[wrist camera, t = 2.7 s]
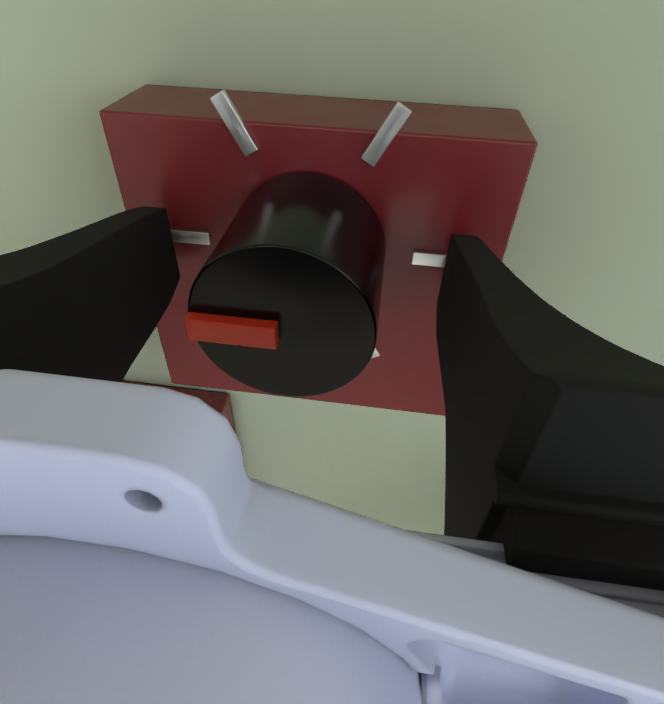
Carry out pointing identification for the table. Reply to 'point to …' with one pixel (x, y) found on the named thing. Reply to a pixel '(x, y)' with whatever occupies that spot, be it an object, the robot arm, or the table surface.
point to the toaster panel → (342, 164)
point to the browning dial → (292, 288)
